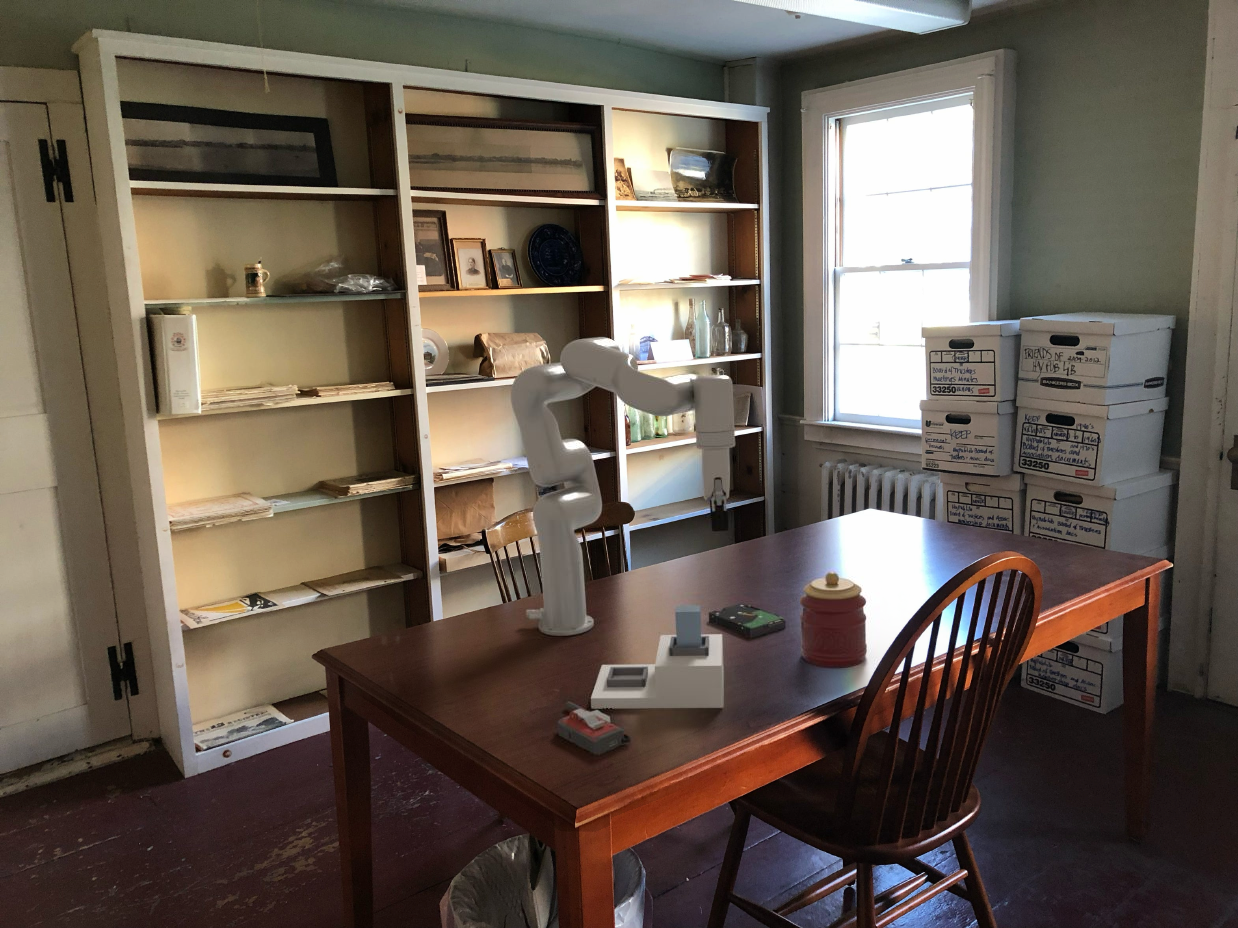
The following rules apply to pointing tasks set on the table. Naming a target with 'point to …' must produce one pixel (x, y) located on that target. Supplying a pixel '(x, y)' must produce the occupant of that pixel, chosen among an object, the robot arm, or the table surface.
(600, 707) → the dock
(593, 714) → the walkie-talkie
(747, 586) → the table surface
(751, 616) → the disk drive
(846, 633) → the canister
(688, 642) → the plug
